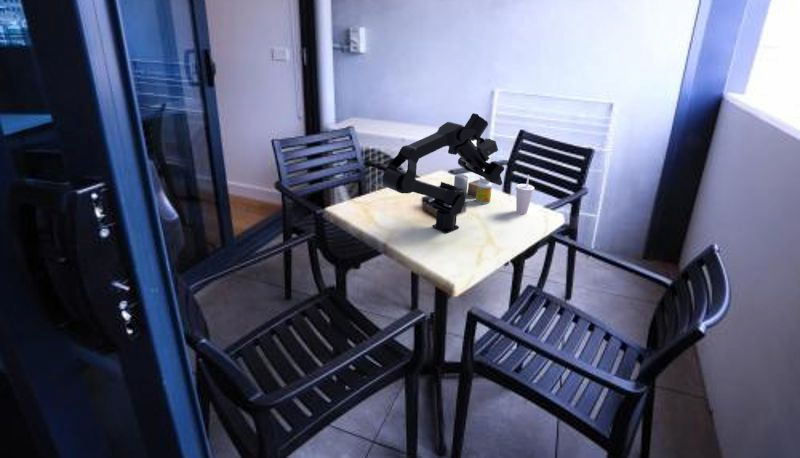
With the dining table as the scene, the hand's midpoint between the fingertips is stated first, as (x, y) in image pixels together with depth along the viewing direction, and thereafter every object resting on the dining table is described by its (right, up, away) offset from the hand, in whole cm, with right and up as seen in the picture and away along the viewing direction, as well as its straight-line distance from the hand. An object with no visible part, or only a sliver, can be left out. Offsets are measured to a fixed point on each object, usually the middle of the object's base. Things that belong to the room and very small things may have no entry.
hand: (492, 180), depth 159 cm
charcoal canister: (-8, -4, +23) cm, 25 cm away
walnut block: (-1, -3, +25) cm, 25 cm away
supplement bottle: (0, -6, +19) cm, 20 cm away
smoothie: (+12, -11, +10) cm, 19 cm away
